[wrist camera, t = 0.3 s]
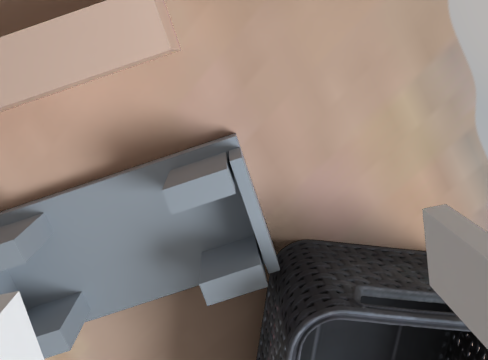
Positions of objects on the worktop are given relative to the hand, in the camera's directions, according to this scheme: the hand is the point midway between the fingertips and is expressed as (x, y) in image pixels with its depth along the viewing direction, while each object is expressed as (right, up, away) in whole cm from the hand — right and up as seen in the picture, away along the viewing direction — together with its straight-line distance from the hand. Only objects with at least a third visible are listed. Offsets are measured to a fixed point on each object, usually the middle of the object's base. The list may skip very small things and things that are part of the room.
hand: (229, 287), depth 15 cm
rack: (-10, -2, +28) cm, 29 cm away
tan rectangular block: (-15, +13, +24) cm, 31 cm away
